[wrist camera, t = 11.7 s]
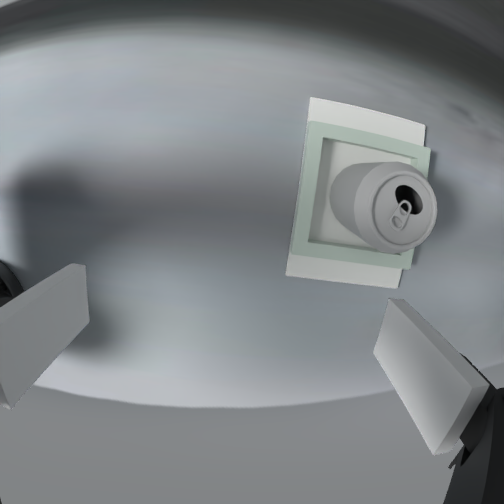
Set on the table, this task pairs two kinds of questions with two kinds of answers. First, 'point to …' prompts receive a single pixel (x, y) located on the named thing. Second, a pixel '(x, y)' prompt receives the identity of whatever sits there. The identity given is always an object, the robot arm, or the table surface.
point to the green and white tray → (319, 185)
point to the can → (385, 204)
